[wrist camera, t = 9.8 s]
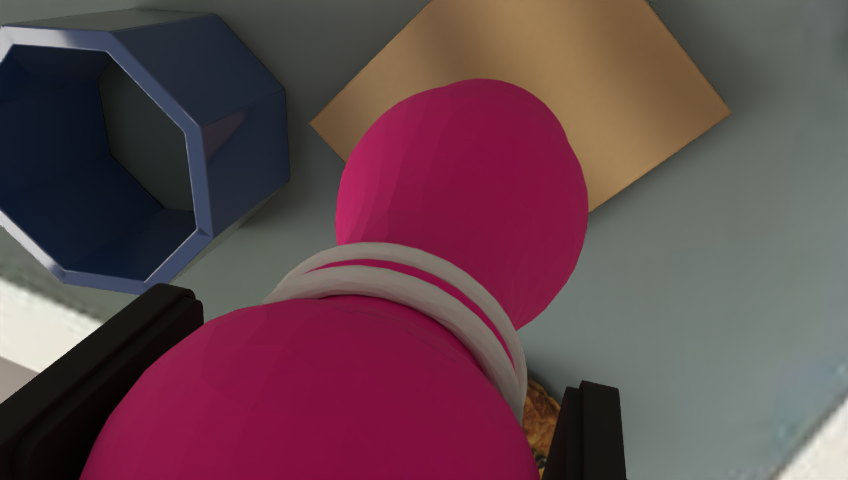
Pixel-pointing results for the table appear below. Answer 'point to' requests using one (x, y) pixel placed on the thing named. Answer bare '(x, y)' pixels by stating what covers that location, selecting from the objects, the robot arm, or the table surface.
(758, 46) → the table surface
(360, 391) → the pepper mill
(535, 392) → the bread roll
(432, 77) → the oak board
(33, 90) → the utensil crock
